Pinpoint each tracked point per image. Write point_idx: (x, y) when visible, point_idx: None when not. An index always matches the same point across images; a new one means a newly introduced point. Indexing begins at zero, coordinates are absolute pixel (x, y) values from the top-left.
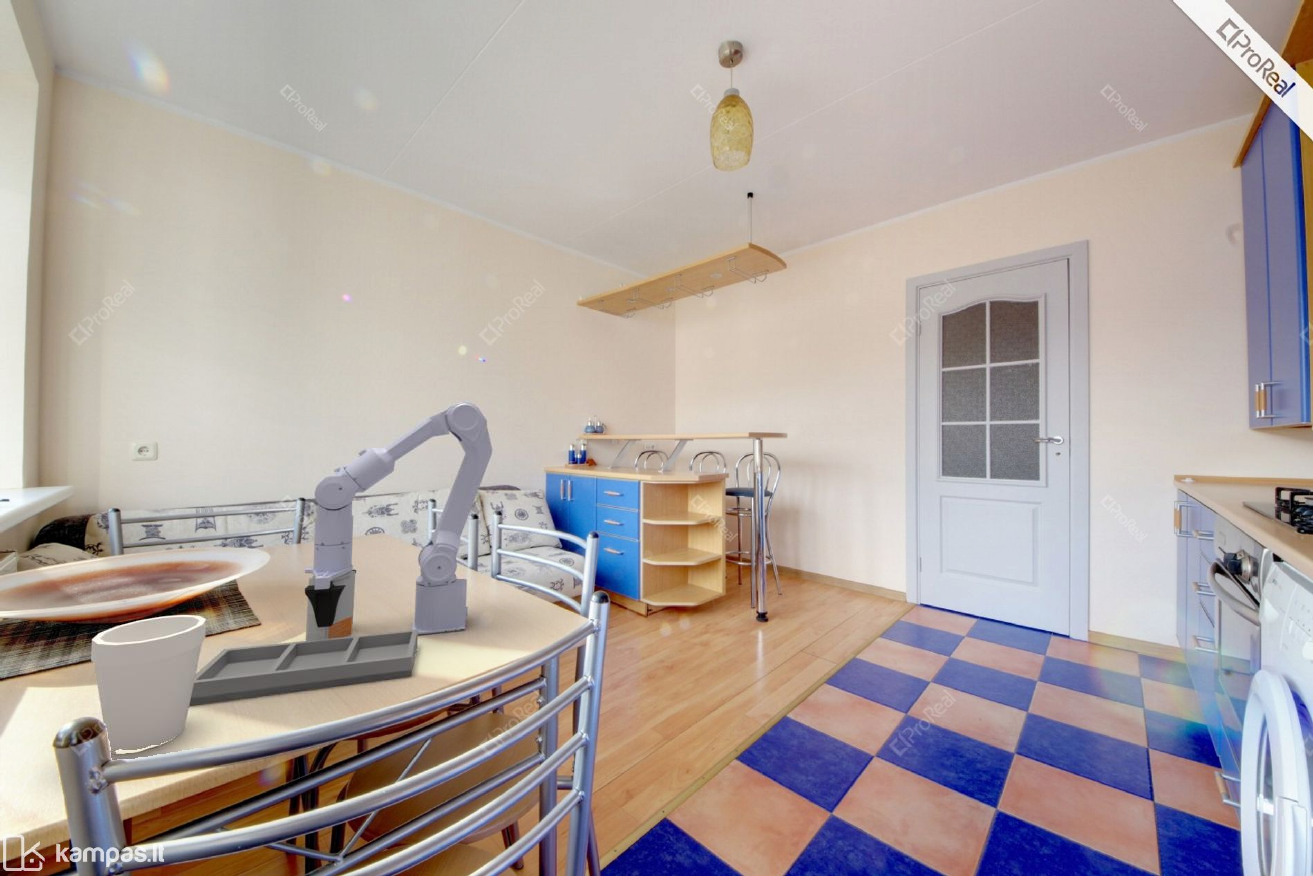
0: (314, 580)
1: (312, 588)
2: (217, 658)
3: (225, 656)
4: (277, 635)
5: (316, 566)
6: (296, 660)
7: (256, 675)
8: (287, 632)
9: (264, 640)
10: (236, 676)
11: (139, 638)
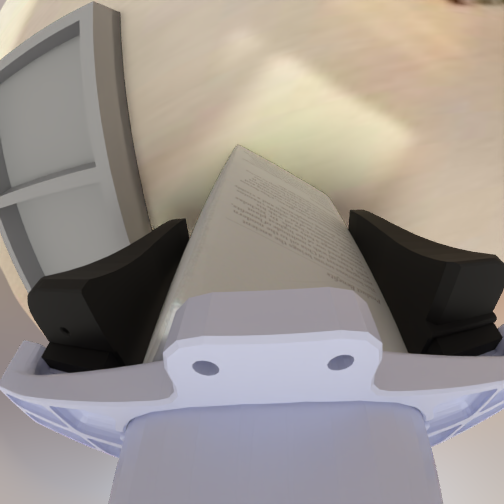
0: (157, 330)
1: (46, 325)
2: (40, 38)
3: (72, 27)
4: (363, 38)
5: (124, 461)
6: (93, 184)
7: None
8: (384, 61)
9: (325, 13)
10: None
11: None
